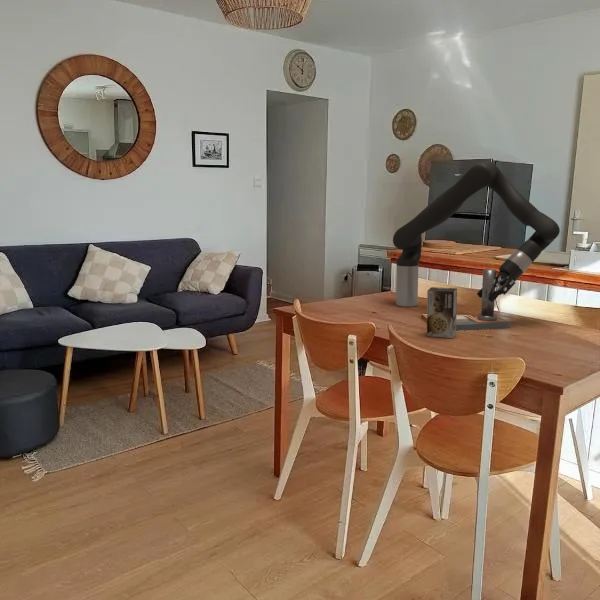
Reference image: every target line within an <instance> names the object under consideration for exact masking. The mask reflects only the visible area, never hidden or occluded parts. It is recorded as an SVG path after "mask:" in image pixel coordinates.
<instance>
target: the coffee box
mask: <svg viewBox="0 0 600 600" xmlns="http://www.w3.org/2000/svg"><path fill="white" fill-rule="evenodd" d="M426 291H427V294H426V295H427V296H426V297H427V298H426V299H427V302H426V304H427V305H426V336H427V337H433V338H445V339H446V338H448V339H453V338H455V336H456V335H457V331H456V316H457V312H458V311H457V308H458V307H457V306H458V298H457V297H458V288H457V287H453V288H452V287H438V286H436V287H434V286H433V287H429V288H428V290H426Z"/></svg>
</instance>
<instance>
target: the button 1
mask: <svg viewBox="0 0 600 600" xmlns="http://www.w3.org/2000/svg"><path fill="white" fill-rule="evenodd" d="M467 318H468V317H465V316H463V315H456V324H457V323H468V319H467Z"/></svg>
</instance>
